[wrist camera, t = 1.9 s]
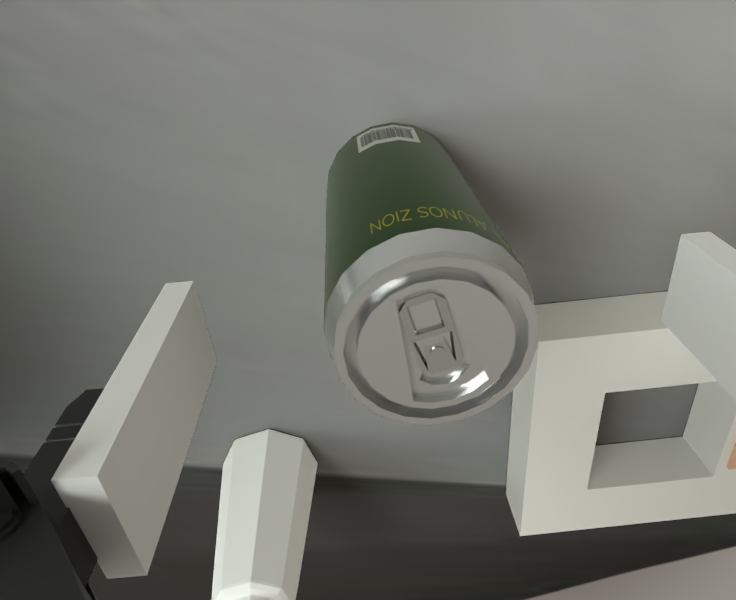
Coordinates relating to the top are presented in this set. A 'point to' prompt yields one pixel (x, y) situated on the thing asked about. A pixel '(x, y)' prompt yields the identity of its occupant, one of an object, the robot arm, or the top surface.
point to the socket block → (582, 418)
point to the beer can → (420, 283)
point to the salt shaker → (263, 517)
